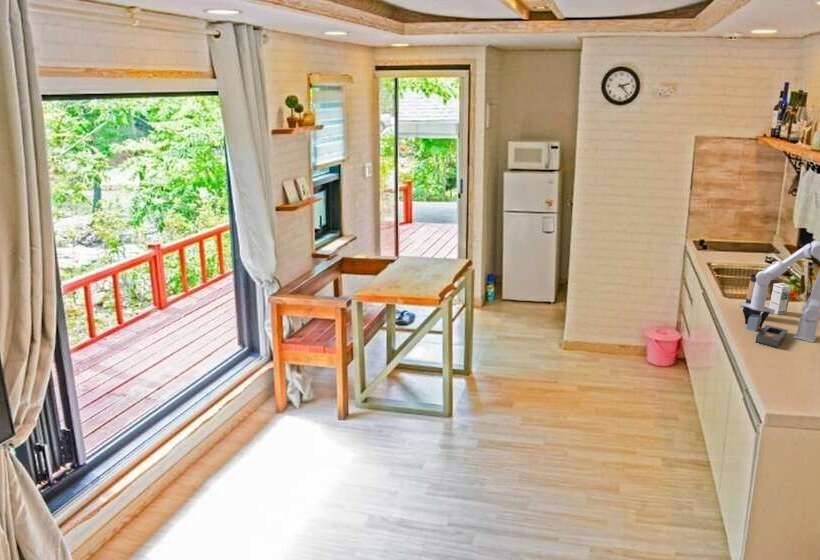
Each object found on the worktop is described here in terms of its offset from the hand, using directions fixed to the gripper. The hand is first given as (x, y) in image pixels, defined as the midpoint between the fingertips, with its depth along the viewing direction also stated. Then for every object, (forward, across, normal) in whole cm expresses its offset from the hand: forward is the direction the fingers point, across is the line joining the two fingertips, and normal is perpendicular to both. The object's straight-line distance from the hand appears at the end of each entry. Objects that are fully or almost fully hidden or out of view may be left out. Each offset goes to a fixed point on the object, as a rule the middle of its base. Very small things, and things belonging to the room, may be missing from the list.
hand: (753, 325), depth 334 cm
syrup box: (+2, +3, +35) cm, 35 cm away
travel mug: (+2, -5, +19) cm, 20 cm away
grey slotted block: (+2, +10, -10) cm, 14 cm away
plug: (+2, 0, 0) cm, 2 cm away
